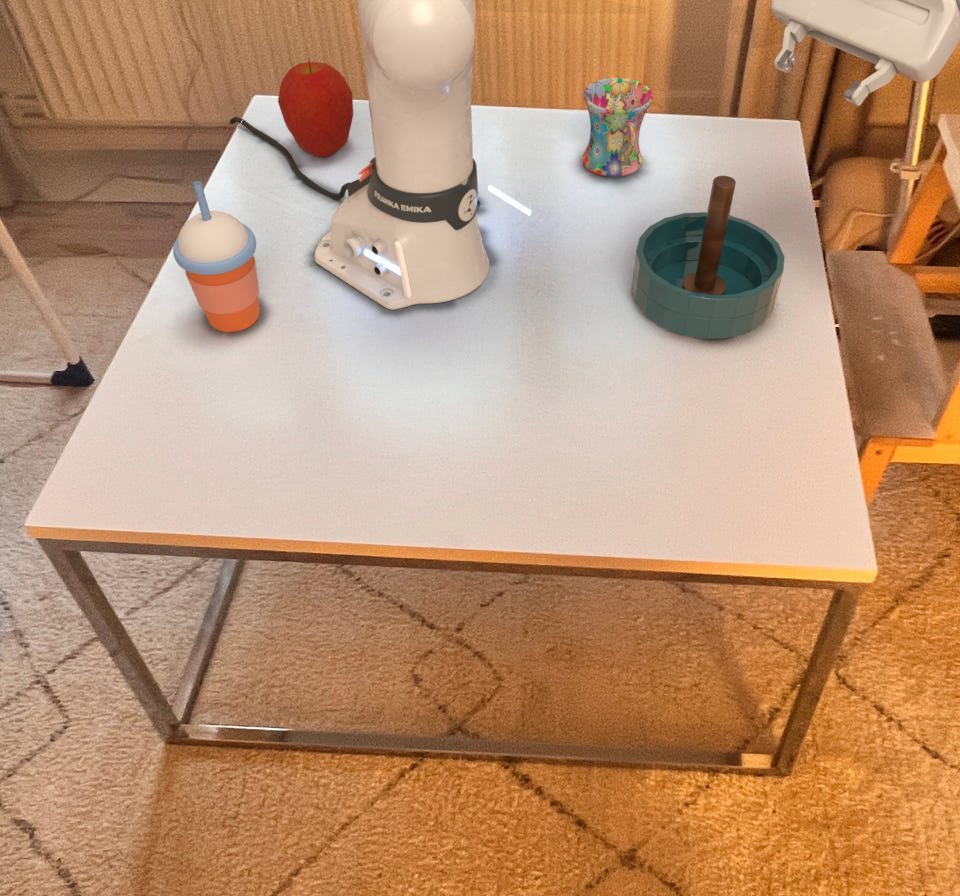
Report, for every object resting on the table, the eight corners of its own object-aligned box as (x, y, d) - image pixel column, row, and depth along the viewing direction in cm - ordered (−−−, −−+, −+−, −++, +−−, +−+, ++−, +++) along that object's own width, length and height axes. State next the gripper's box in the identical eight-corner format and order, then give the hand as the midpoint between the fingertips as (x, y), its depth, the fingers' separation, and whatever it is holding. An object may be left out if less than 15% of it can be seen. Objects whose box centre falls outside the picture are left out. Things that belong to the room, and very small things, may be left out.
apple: (370, 140, 138) (359, 47, 127) (338, 174, 131) (324, 79, 121) (309, 128, 140) (294, 36, 130) (275, 161, 134) (256, 67, 124)
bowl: (607, 312, 110) (611, 268, 105) (667, 241, 119) (674, 197, 114) (739, 362, 103) (750, 317, 99) (792, 283, 113) (805, 238, 108)
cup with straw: (256, 345, 107) (221, 211, 94) (183, 336, 109) (138, 203, 95) (283, 296, 113) (253, 164, 100) (213, 288, 115) (174, 157, 101)
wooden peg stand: (674, 296, 110) (693, 185, 99) (692, 274, 113) (712, 164, 102) (714, 310, 108) (737, 199, 97) (730, 288, 111) (755, 177, 100)
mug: (571, 152, 134) (575, 81, 126) (632, 144, 135) (640, 73, 127) (595, 197, 126) (601, 125, 118) (660, 188, 127) (670, 116, 119)
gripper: (811, -81, 99) (731, 36, 102) (983, -23, 88) (887, 107, 91) (827, -47, 104) (750, 64, 107) (992, 13, 93) (900, 134, 96)
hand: (814, 84), depth 99 cm, fingers open, 8 cm apart
